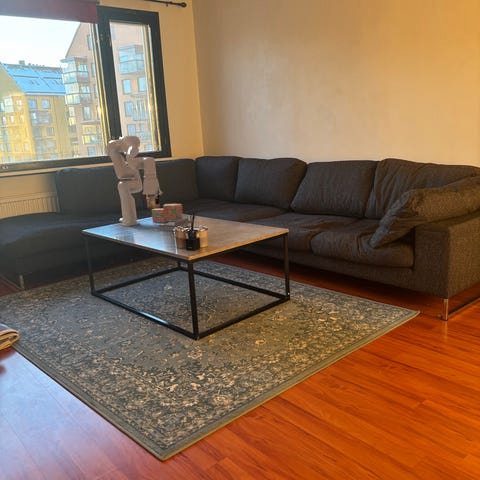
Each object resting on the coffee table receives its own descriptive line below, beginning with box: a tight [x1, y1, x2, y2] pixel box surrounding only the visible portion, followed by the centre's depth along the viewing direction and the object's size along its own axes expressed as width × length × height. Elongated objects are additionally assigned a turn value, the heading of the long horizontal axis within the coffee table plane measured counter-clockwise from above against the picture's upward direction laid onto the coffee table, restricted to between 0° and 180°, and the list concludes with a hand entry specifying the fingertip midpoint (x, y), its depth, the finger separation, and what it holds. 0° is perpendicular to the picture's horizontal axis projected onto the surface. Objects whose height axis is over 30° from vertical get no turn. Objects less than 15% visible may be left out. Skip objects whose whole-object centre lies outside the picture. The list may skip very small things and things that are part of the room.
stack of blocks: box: [150, 203, 184, 223], centre depth 353 cm, size 21×6×12 cm, turn 80°
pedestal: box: [146, 195, 161, 209], centre depth 320 cm, size 6×6×7 cm
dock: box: [157, 217, 189, 232], centre depth 328 cm, size 14×16×6 cm
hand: (153, 204), depth 321 cm, fingers closed on pedestal, 5 cm apart
